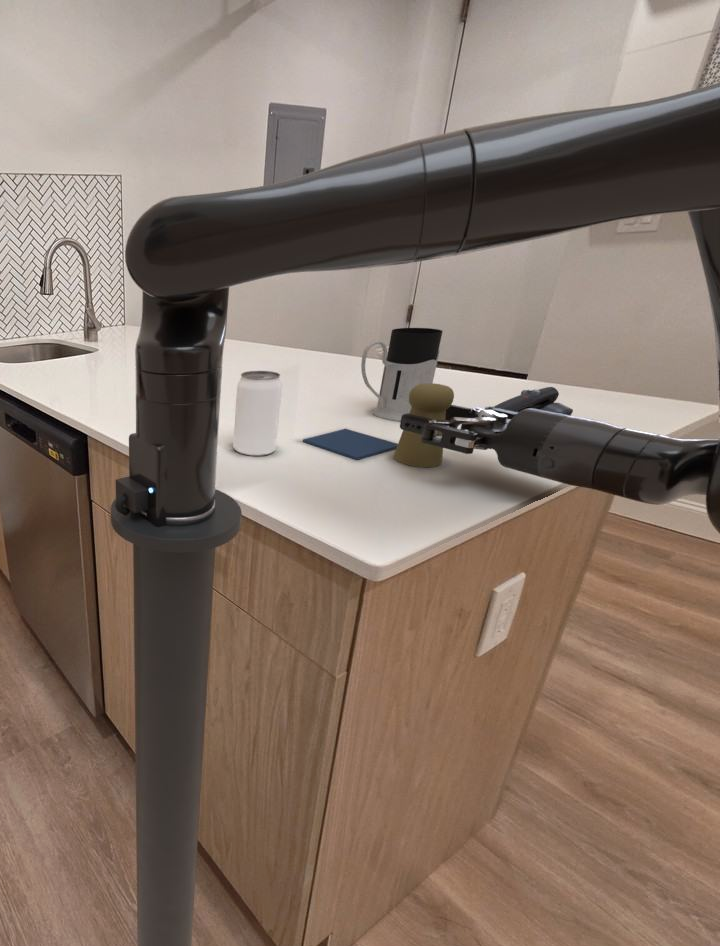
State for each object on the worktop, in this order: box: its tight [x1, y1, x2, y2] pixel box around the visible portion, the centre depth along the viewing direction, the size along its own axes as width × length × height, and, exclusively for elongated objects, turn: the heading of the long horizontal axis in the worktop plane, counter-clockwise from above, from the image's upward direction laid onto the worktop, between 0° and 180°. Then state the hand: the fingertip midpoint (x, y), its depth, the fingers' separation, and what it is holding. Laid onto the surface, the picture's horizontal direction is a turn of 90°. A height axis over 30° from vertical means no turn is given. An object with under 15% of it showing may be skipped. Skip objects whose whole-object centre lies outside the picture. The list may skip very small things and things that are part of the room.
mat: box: [302, 428, 398, 461], centre depth 83 cm, size 10×10×1 cm
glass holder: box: [360, 327, 443, 422], centre depth 92 cm, size 9×14×15 cm, turn 102°
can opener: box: [493, 386, 574, 416], centre depth 86 cm, size 18×7×6 cm, turn 110°
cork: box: [393, 382, 455, 468], centre depth 73 cm, size 6×6×11 cm
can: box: [232, 370, 283, 457], centre depth 80 cm, size 6×6×12 cm
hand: (421, 415), depth 73 cm, fingers open, 8 cm apart
